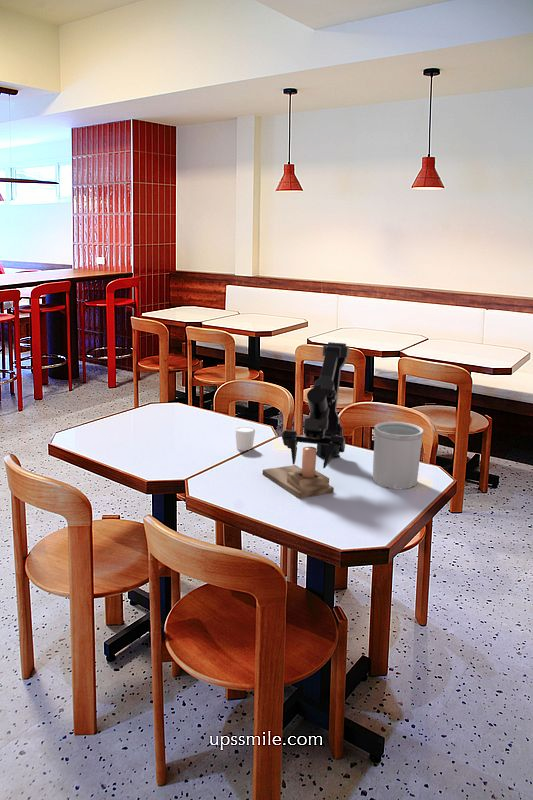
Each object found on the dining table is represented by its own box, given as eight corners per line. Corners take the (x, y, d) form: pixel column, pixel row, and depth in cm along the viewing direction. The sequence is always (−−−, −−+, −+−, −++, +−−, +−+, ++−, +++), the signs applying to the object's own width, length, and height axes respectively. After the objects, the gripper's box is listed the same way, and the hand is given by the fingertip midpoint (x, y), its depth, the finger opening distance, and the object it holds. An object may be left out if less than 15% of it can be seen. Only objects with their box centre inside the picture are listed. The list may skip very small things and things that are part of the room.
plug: (309, 480, 205) (311, 446, 202) (317, 485, 202) (319, 449, 199) (298, 482, 203) (300, 447, 200) (305, 487, 200) (307, 451, 197)
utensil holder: (403, 494, 202) (408, 437, 198) (361, 481, 212) (365, 427, 207) (427, 482, 213) (432, 428, 209) (385, 470, 223) (390, 418, 218)
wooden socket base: (295, 469, 220) (295, 456, 219) (333, 492, 201) (334, 478, 200) (262, 474, 214) (263, 460, 213) (299, 498, 196) (299, 483, 195)
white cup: (231, 449, 238) (232, 430, 236) (239, 444, 244) (240, 425, 242) (249, 452, 235) (250, 433, 234) (257, 447, 241) (258, 428, 240)
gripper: (284, 403, 204) (274, 449, 196) (346, 410, 200) (337, 456, 192) (289, 422, 213) (279, 466, 206) (348, 429, 209) (340, 474, 201)
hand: (308, 465), depth 201 cm, fingers open, 9 cm apart
